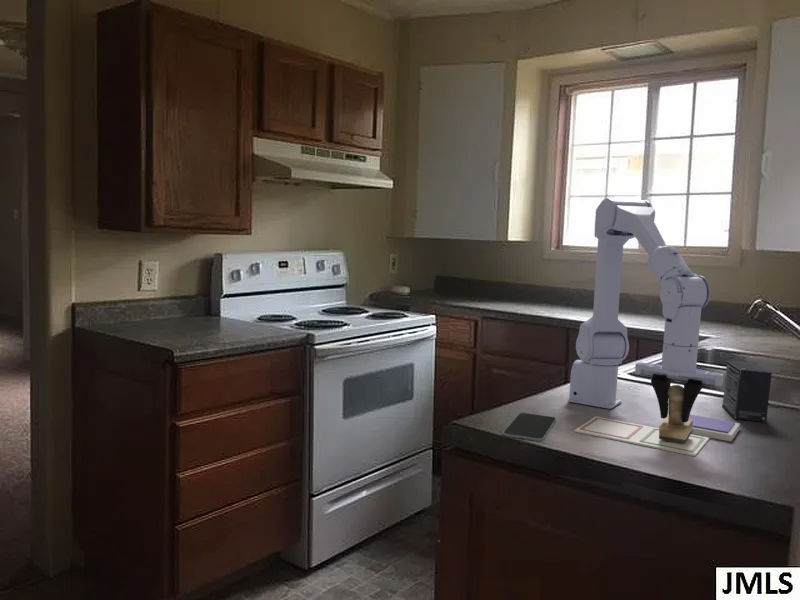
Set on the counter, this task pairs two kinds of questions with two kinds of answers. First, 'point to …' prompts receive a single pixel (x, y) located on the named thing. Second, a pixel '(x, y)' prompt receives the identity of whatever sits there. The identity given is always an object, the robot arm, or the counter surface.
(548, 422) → the smartphone
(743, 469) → the counter surface
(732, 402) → the small box
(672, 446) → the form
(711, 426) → the ink pad
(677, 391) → the stamp
